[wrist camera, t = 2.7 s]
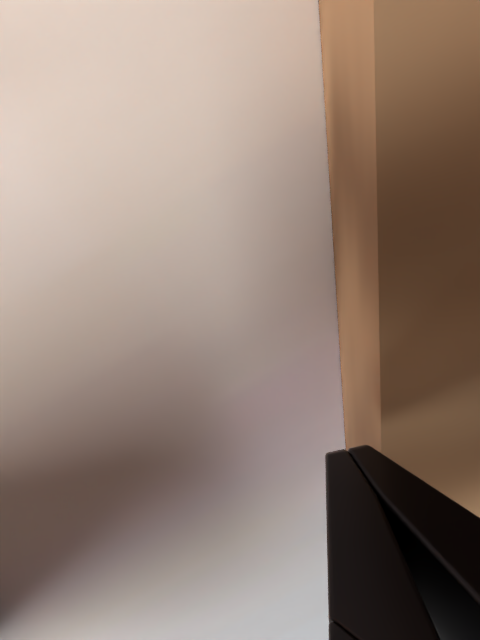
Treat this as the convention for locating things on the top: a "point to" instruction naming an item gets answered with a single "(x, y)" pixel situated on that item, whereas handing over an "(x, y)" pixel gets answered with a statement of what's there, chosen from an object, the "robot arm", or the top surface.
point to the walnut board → (407, 230)
